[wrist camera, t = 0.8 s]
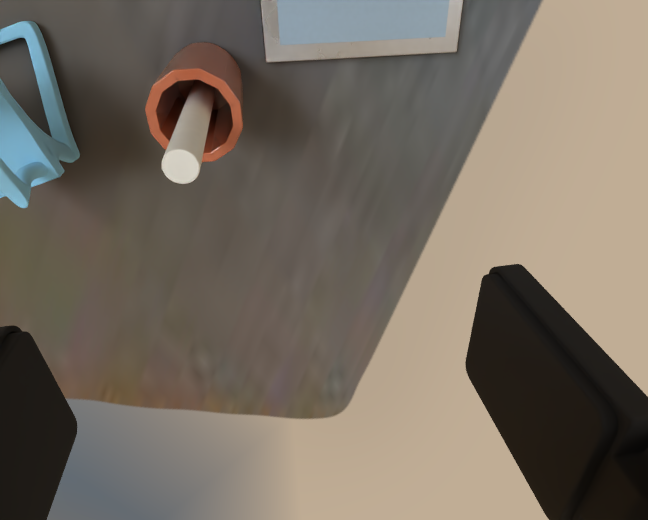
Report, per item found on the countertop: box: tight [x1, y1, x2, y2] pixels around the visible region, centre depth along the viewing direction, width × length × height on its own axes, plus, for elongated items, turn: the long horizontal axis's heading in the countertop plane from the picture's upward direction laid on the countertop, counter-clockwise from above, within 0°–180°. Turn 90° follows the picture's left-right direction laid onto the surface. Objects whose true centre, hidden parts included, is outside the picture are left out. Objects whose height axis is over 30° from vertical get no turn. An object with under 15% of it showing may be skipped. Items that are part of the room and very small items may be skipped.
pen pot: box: [145, 42, 243, 162], centre depth 26 cm, size 5×5×9 cm
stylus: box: [162, 80, 216, 184], centre depth 23 cm, size 1×1×15 cm
